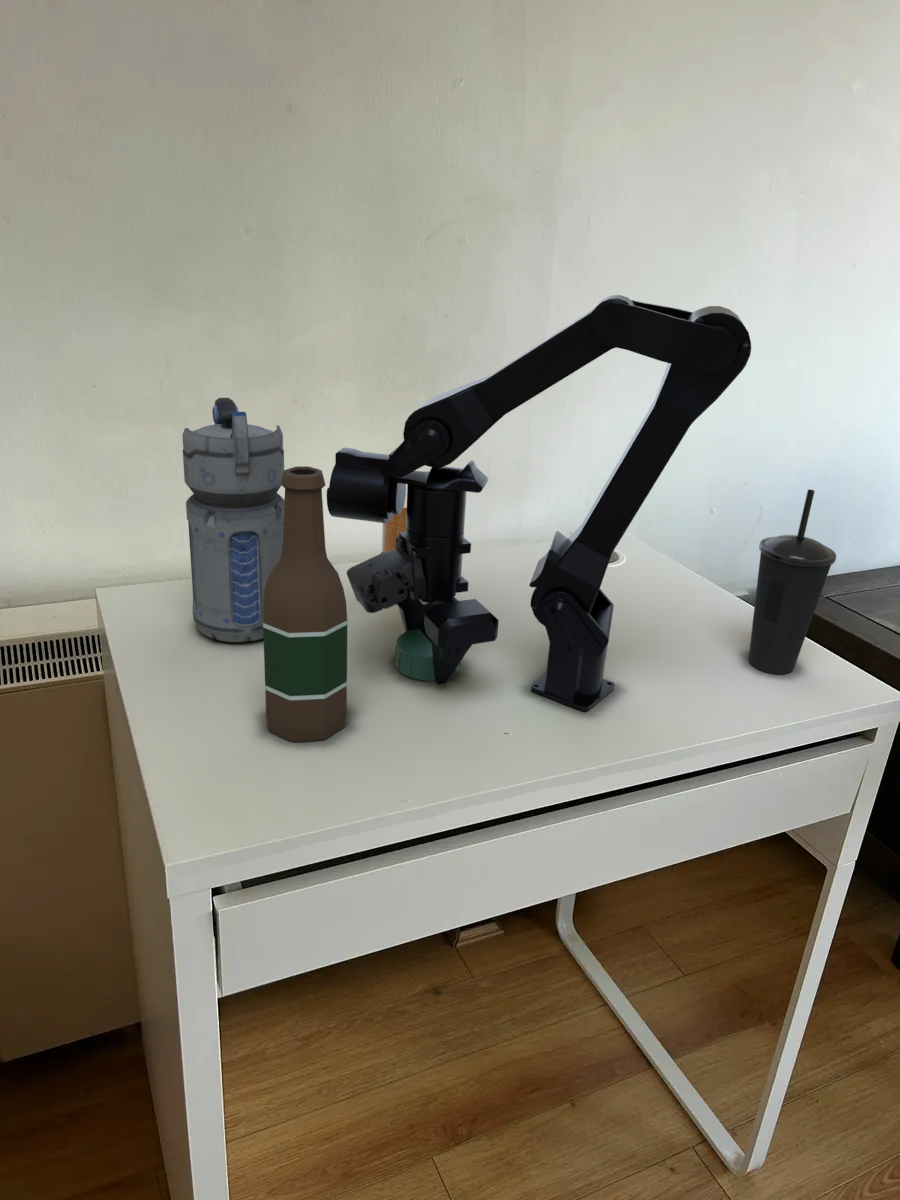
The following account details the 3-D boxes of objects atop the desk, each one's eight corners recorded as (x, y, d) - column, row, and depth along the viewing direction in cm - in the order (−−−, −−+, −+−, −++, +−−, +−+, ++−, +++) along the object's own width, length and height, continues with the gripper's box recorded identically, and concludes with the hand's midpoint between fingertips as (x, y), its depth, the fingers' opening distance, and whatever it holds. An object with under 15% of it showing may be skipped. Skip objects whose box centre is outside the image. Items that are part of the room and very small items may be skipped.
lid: (450, 648, 98) (452, 626, 97) (466, 678, 92) (468, 654, 91) (390, 652, 96) (391, 629, 95) (402, 682, 90) (403, 659, 89)
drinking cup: (817, 683, 96) (863, 504, 88) (746, 679, 96) (785, 499, 88) (794, 650, 103) (834, 481, 95) (727, 646, 103) (762, 477, 95)
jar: (418, 594, 111) (422, 510, 107) (374, 587, 113) (376, 504, 108) (431, 577, 117) (436, 497, 112) (389, 571, 118) (392, 491, 114)
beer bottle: (333, 751, 79) (333, 489, 69) (249, 737, 81) (238, 478, 71) (358, 707, 86) (362, 463, 76) (281, 695, 88) (275, 453, 78)
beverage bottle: (273, 596, 109) (268, 387, 98) (297, 644, 97) (294, 414, 87) (186, 604, 105) (172, 388, 95) (200, 655, 94) (185, 417, 84)
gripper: (327, 505, 93) (327, 641, 99) (391, 572, 77) (387, 727, 84) (427, 497, 97) (421, 627, 103) (506, 558, 82) (494, 707, 88)
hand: (428, 668), depth 94 cm, fingers closed on lid, 6 cm apart
